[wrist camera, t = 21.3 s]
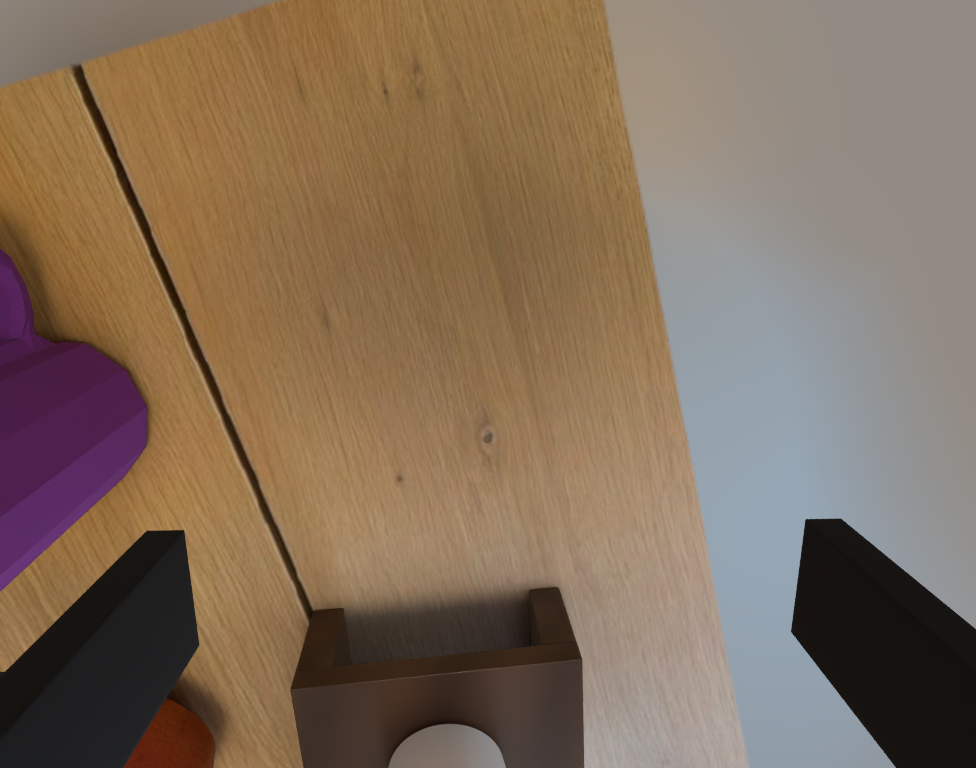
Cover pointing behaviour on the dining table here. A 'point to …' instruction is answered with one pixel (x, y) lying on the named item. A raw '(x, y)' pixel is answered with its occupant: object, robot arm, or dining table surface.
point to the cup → (448, 749)
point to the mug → (55, 429)
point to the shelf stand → (442, 695)
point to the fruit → (174, 741)
